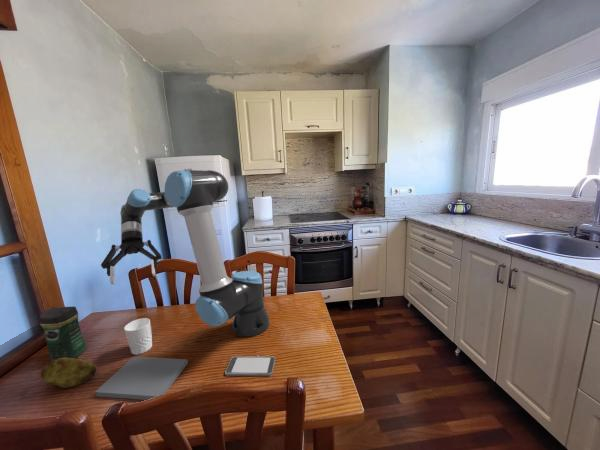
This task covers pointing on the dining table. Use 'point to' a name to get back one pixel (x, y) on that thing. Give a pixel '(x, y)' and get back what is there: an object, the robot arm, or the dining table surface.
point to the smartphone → (250, 366)
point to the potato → (67, 372)
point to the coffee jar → (62, 332)
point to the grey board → (143, 378)
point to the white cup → (139, 335)
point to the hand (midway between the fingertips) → (133, 278)
